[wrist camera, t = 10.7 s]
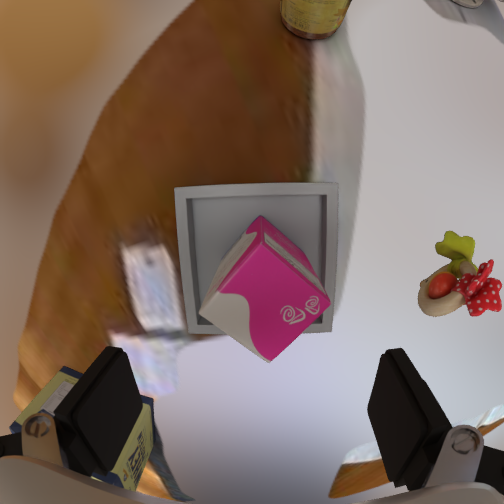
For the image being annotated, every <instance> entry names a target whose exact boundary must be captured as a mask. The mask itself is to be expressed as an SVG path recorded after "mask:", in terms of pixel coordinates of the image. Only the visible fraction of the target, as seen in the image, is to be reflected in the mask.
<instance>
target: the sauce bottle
mask: <svg viewBox="0 0 504 504" xmlns="http://www.w3.org/2000/svg"><path fill="white" fill-rule="evenodd" d="M351 1H352V0H281V1H280V12H281V16H282V17H281V19H282V22H283V23H284V25H285V26H286V27H287V28H288V30H290V31H291V32H293V33H294V34H295V35H297V36H299V37H303V38H305V39H313V40H314V39H324V38H327V37H329V36H330V35H332V34H333V33H335V32H336V30H337V29H338V27H339V26H340V25H341V23H342V21H343V19H344V17H345V14H346V12H347V10H348V8H349V5H350V3H351Z"/></svg>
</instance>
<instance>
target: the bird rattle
mask: <svg viewBox="0 0 504 504" xmlns="http://www.w3.org/2000/svg"><path fill="white" fill-rule="evenodd" d="M444 236H445V237H444V240H443V242H437V243H436V245H435V248H436V252H437V253H438V254H440V255H442V256H444V257H447V258H449V259H451V260H452V261H451V263H450V264H447V265H445V266H443V267H442V268H440V269H439V270H437V271H436V272H434V273H433V274H432V275H431V276H429V277H428V278H427V279H425V280H423V281H421V283H420V287H421V288H420V290H419V293H418V304H419V307H420V308H421V310H422V311H423V312H424V313H425V314H426V315H429V316H433V317H434V316H435V317H437V316H443V315H446V314H449V313H451V312H453V311H455V310H456V309H458V308H459V307H461V306H462V305H467V308H468V311H469V313H470V316H479V315H481V314H482V313H483V312H484V311H485V310H492V311H496V312H499V311H500V310H501V307H502V303H501V299H500V296H499V291H500V289H501V287H502V284H501V282H500V280H498V279H495V278H487V277H488V276H489V274H490V273H491V272H492V267H493V264H494V261H493V260H489V261H488V263H482V264H481V265H480V266H479V269H478V268H477V267H476V266H475V265H474V264H473V263H472V256H473V253H474V248H475V241H474V240H473V238H472V237H469V236H463V237H460V236H458V235H457V234H456V233H454V232H453V231H447V232H446V233H445V235H444ZM457 278H459V280H457ZM459 281H460V282H459Z"/></svg>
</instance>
